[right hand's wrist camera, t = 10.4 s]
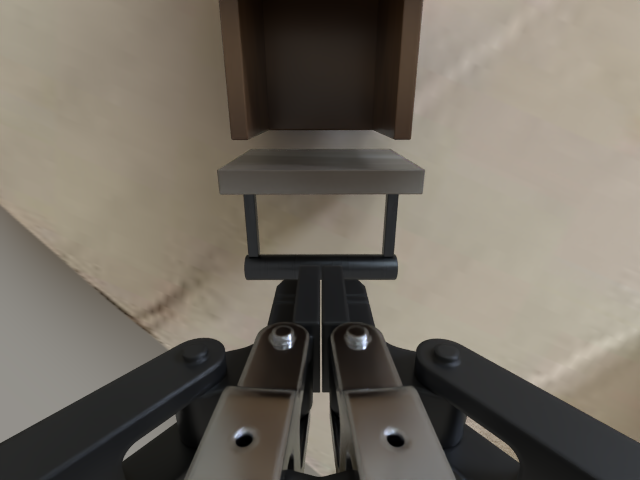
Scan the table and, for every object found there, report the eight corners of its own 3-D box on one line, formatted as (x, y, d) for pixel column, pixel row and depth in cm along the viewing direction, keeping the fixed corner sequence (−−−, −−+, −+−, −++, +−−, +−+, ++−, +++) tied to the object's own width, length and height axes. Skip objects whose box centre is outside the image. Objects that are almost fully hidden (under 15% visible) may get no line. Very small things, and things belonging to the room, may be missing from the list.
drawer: (384, 241, 27) (411, 297, 19) (257, 241, 27) (230, 298, 19) (410, -128, 19) (474, -297, 11) (230, -128, 19) (166, -296, 11)
